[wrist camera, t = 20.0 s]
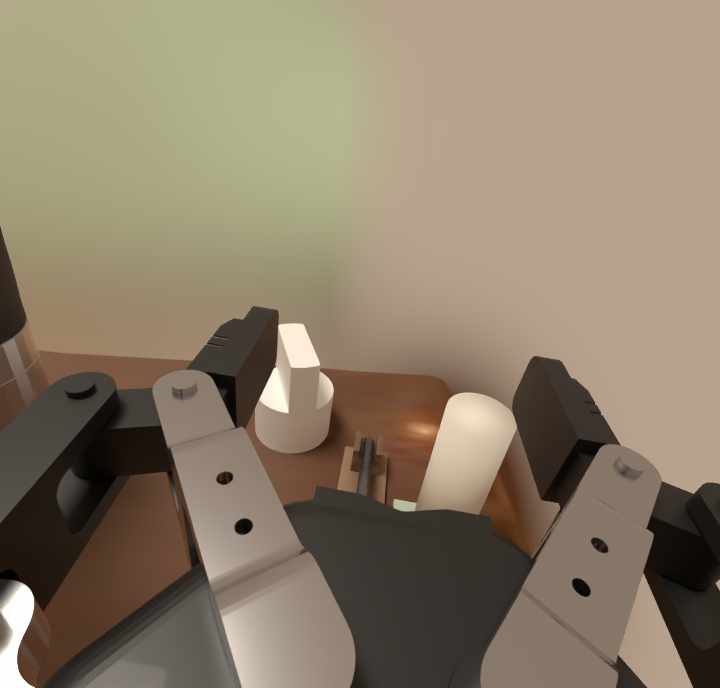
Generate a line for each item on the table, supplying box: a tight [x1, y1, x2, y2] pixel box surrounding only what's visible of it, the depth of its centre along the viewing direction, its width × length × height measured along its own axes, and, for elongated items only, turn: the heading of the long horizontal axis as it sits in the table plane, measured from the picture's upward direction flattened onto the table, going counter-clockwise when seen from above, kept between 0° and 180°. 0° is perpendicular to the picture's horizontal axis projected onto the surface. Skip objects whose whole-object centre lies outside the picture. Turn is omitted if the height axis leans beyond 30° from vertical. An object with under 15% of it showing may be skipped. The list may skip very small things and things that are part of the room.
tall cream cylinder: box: [415, 393, 517, 515], centre depth 34 cm, size 5×5×16 cm
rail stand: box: [337, 431, 388, 504], centre depth 38 cm, size 5×20×4 cm, turn 174°
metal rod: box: [356, 437, 374, 497], centre depth 37 cm, size 1×18×1 cm, turn 174°
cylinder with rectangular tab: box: [255, 324, 334, 453], centre depth 47 cm, size 9×9×12 cm
